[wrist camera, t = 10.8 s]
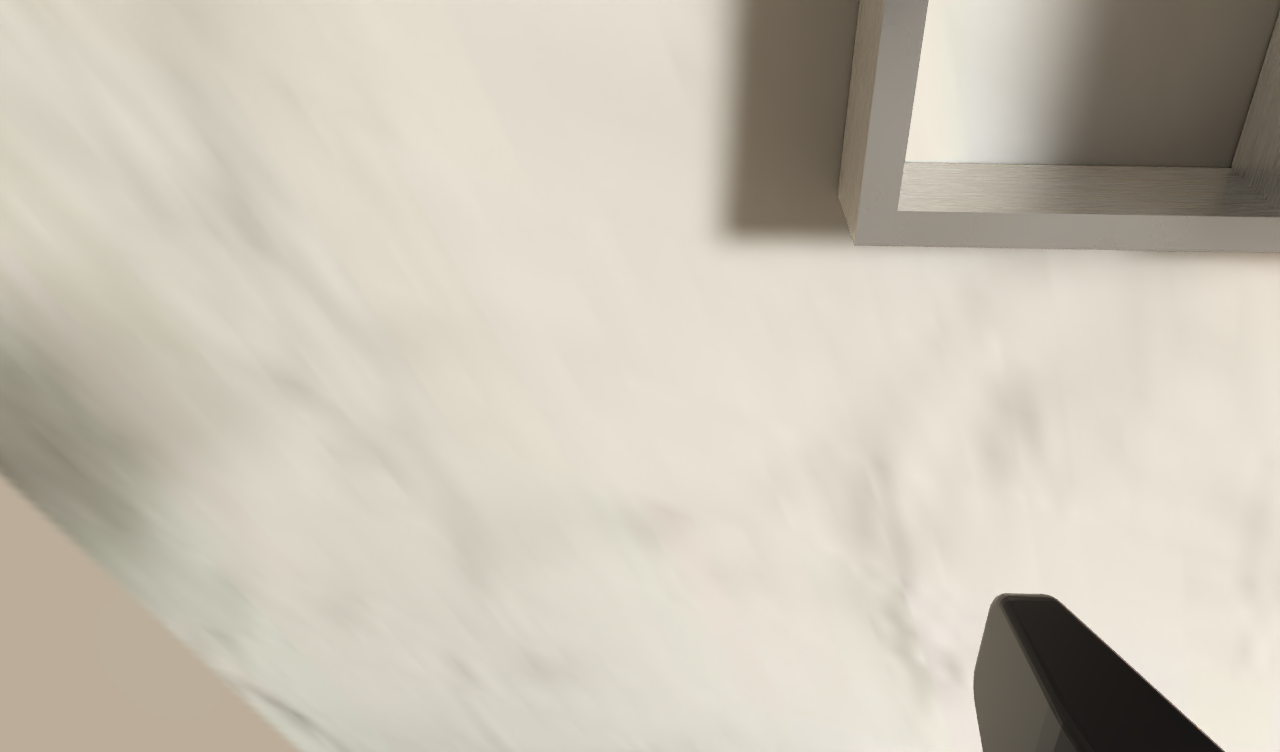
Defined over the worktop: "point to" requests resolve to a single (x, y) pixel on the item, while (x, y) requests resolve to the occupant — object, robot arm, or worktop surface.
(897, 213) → the tray
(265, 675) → the worktop surface
